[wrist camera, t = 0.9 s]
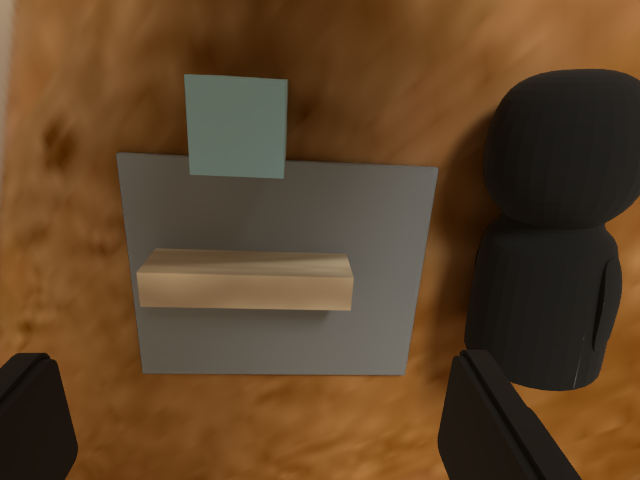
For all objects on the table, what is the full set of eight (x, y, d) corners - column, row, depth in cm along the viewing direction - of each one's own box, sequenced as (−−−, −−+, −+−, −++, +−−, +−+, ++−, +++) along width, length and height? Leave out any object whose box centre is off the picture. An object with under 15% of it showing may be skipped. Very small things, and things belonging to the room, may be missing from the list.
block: (218, 75, 27) (184, 74, 18) (288, 79, 27) (286, 80, 19) (220, 145, 28) (189, 174, 20) (286, 149, 29) (283, 178, 20)
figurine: (626, 367, 29) (713, 63, 22) (552, 423, 25) (630, 68, 18) (509, 310, 37) (544, 70, 30) (436, 346, 33) (457, 74, 25)
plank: (155, 248, 30) (136, 272, 26) (346, 253, 31) (353, 277, 27) (158, 279, 31) (140, 306, 27) (343, 283, 32) (350, 310, 28)
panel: (119, 152, 28) (115, 153, 27) (435, 166, 30) (438, 168, 29) (145, 368, 34) (142, 373, 34) (403, 370, 36) (404, 375, 36)
